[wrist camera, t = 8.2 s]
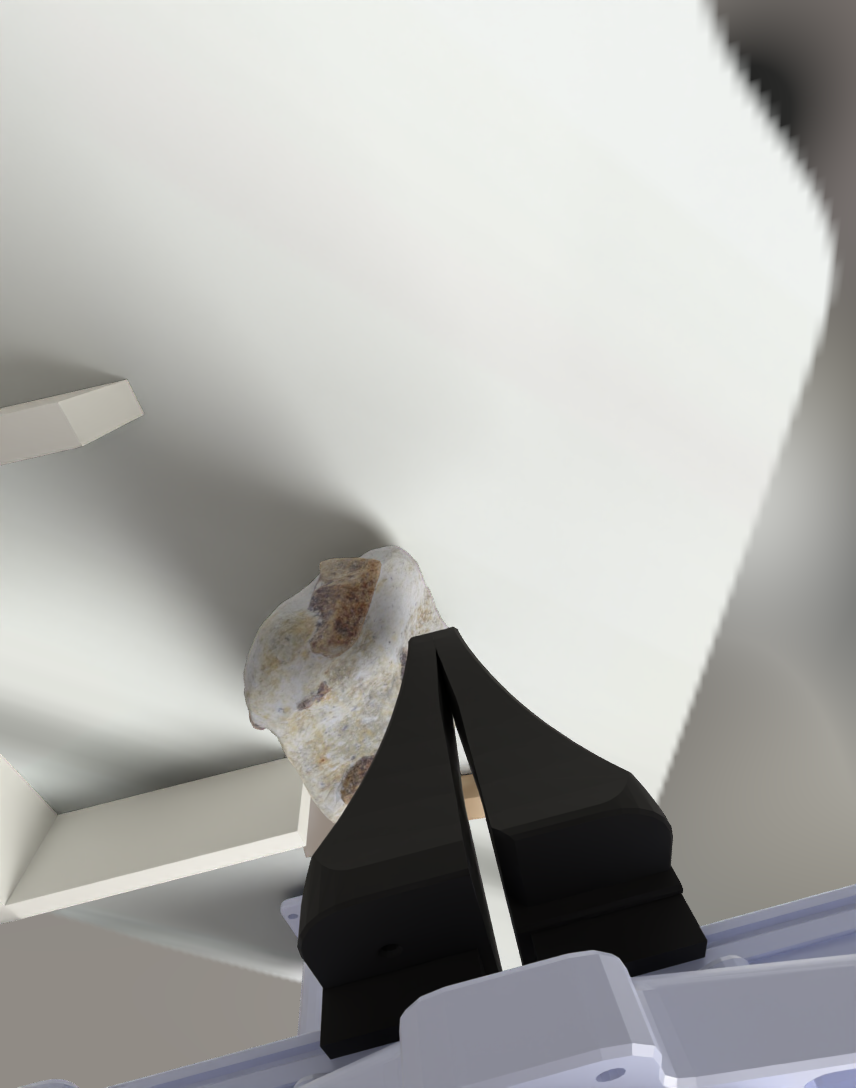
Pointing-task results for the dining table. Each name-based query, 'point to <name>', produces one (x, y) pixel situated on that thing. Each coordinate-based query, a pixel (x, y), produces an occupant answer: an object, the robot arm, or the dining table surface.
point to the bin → (142, 820)
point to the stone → (338, 667)
